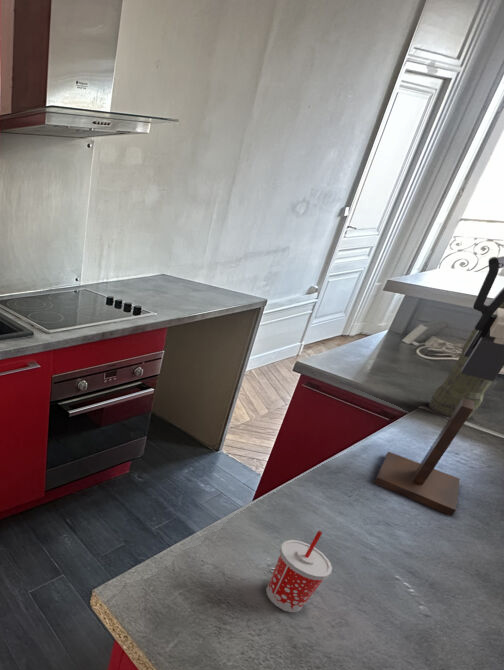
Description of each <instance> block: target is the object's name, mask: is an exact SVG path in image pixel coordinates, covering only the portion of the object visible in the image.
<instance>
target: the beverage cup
mask: <svg viewBox="0 0 504 670" xmlns="http://www.w3.org/2000/svg"><path fill="white" fill-rule="evenodd" d="M322 535H323V531H321V530H317V532H316V534H315V536H314V537H313V539H312V542H311V543H310V544H309V543H308V542H304V541H300V540H298V539H288V540H286V541H283V542H282V543H281V546H280V548H279V556H278V559H277V562H276V564H275V567H274V569H273V572H272V574H271V577H270V579H269V581H268V584H267V587H266V589H265V591H266V595H267V597H268V599H269V600H270V602H272V603H273V605H274V606H275V607H277V608H279V609H281V610H282V611H284V612H287V613H298V612H299V611H301V610H302V608H304V606H305V605H306V603H307V602H308V601H309V599H310V598H311V596H312V595H313V594H314V593H315V592H316V590H317V589H318V587H319V586H320V585H321V583H323V581H324V580H326V579H328V578H329V576H330V575H331V574H332V571H333V566H332V563H331V561H330V560H329V559H328V557H327V556H326V555H325V554H324V553H323V552H322V551H321V550H319V549H318V548H316V545H317V543H318V542H319V540H320V538H321V536H322Z"/></svg>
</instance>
